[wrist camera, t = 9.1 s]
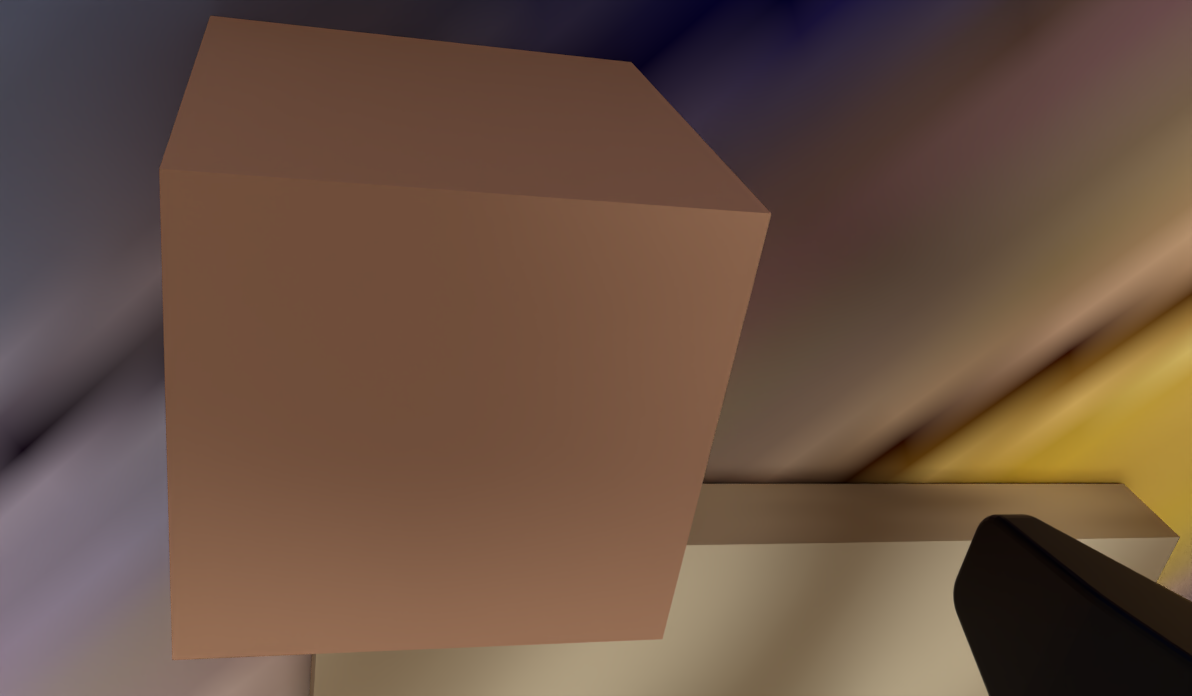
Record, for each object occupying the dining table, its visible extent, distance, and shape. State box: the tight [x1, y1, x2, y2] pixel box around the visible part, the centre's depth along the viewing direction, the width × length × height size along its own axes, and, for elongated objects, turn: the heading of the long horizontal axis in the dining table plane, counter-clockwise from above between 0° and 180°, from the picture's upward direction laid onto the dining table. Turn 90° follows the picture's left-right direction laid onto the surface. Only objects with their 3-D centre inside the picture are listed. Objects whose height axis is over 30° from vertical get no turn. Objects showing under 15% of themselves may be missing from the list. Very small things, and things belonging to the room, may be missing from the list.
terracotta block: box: [159, 16, 771, 660], centre depth 12 cm, size 5×5×5 cm
